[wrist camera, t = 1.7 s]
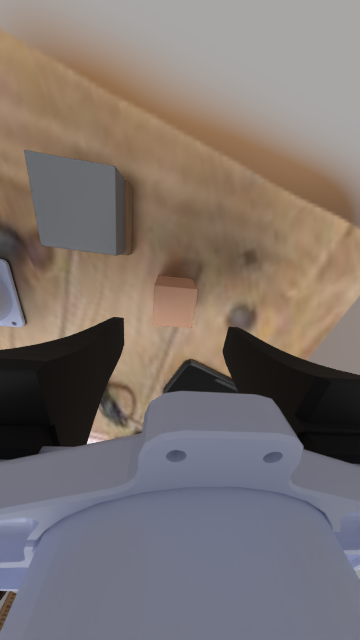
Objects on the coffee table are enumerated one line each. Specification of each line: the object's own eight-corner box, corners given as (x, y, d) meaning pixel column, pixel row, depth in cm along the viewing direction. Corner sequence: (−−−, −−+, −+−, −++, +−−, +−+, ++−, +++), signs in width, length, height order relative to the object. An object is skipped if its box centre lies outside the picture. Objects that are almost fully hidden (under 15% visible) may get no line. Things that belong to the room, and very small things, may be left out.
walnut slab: (76, 246, 19) (63, 247, 17) (68, 178, 16) (51, 168, 14) (132, 253, 19) (127, 255, 17) (132, 188, 17) (126, 180, 15)
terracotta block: (156, 307, 22) (152, 324, 17) (158, 275, 20) (154, 285, 16) (187, 310, 22) (192, 328, 18) (192, 278, 21) (198, 289, 16)
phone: (233, 424, 31) (160, 395, 27) (231, 419, 32) (161, 389, 28) (264, 397, 28) (188, 360, 24) (261, 391, 29) (187, 355, 26)
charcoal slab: (59, 244, 16) (41, 245, 14) (47, 164, 14) (24, 149, 12) (123, 253, 17) (116, 255, 15) (123, 177, 15) (114, 166, 12)
